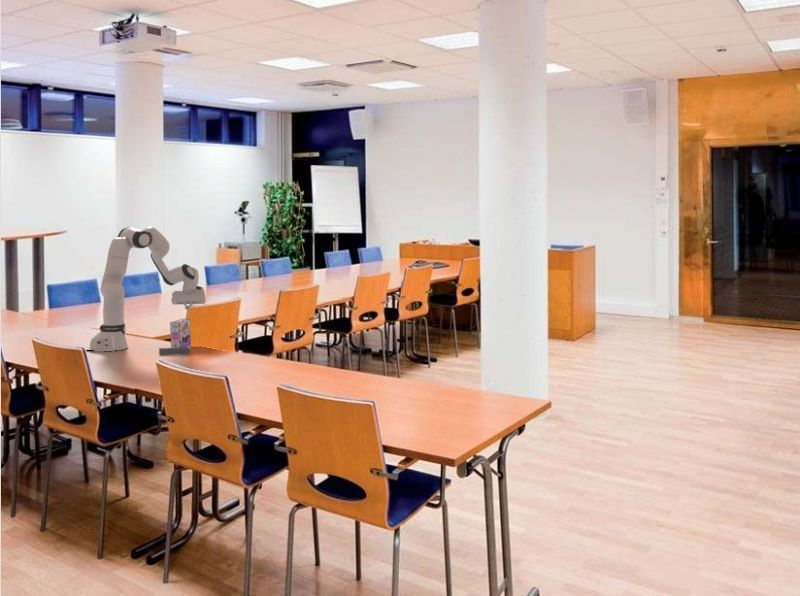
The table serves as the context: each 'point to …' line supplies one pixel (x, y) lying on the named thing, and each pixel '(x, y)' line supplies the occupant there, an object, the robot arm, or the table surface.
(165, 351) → the slide guide
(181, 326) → the candy box
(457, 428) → the table surface
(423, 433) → the table surface
